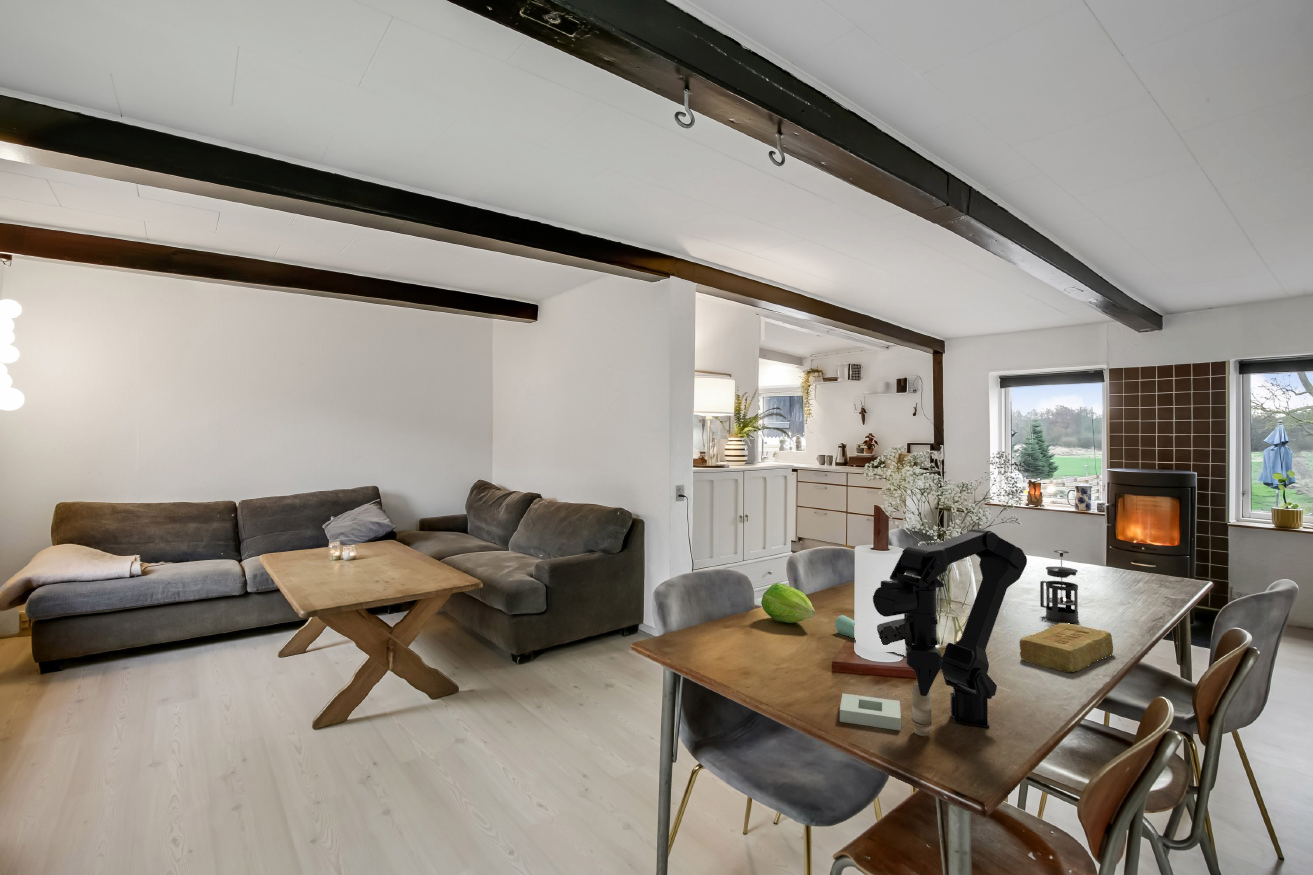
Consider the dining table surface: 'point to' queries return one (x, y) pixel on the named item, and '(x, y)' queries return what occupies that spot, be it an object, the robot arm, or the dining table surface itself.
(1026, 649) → the brick
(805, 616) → the lettuce
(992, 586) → the robot arm
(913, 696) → the peg
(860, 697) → the board
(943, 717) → the dining table surface
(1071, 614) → the french press
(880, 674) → the dining table surface
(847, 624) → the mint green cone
